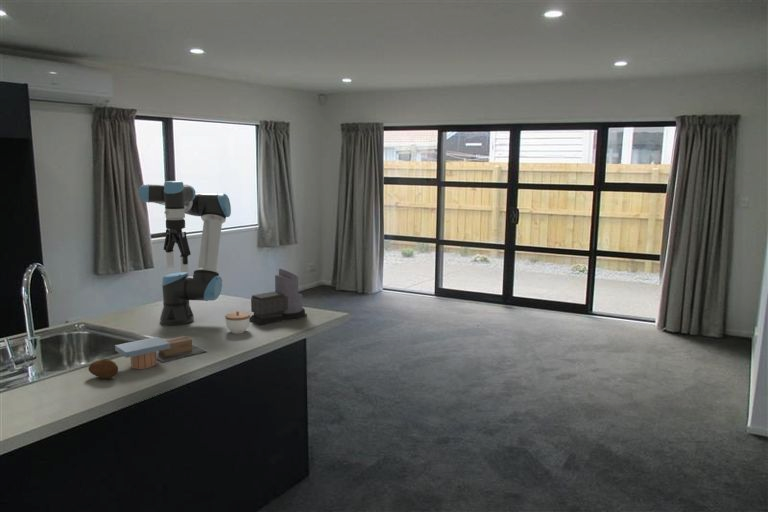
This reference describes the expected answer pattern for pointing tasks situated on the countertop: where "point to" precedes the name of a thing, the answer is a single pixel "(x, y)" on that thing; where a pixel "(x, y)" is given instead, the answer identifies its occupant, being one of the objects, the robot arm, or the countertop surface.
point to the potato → (104, 368)
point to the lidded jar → (237, 321)
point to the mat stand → (178, 349)
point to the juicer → (278, 301)
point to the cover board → (142, 347)
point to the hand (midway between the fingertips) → (177, 269)
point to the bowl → (143, 361)
